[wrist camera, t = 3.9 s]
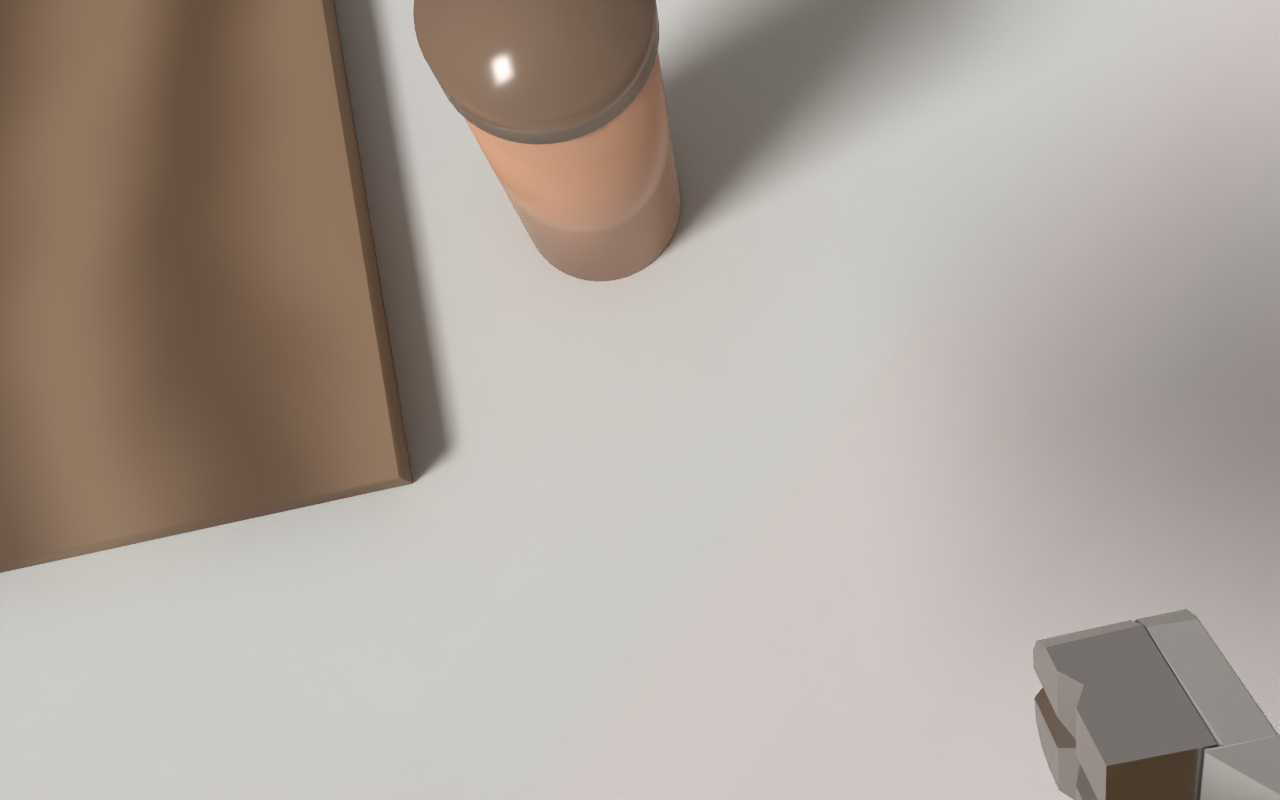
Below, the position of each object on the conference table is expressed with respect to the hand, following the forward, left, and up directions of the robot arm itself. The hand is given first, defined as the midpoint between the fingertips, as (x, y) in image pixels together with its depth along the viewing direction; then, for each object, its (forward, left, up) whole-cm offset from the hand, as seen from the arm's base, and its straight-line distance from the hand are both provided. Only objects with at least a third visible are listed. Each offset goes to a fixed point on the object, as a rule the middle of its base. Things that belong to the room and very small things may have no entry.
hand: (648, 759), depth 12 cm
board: (+16, -14, -16) cm, 27 cm away
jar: (0, -12, -16) cm, 20 cm away
